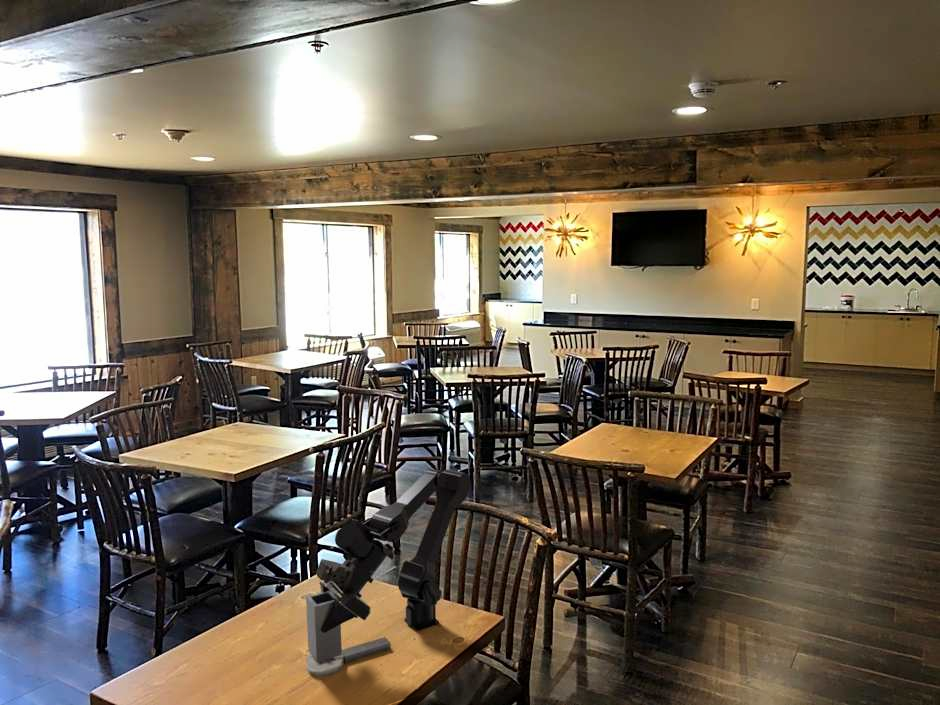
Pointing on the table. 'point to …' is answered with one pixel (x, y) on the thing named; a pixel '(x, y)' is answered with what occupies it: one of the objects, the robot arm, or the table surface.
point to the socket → (317, 614)
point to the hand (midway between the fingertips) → (317, 625)
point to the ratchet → (346, 657)
